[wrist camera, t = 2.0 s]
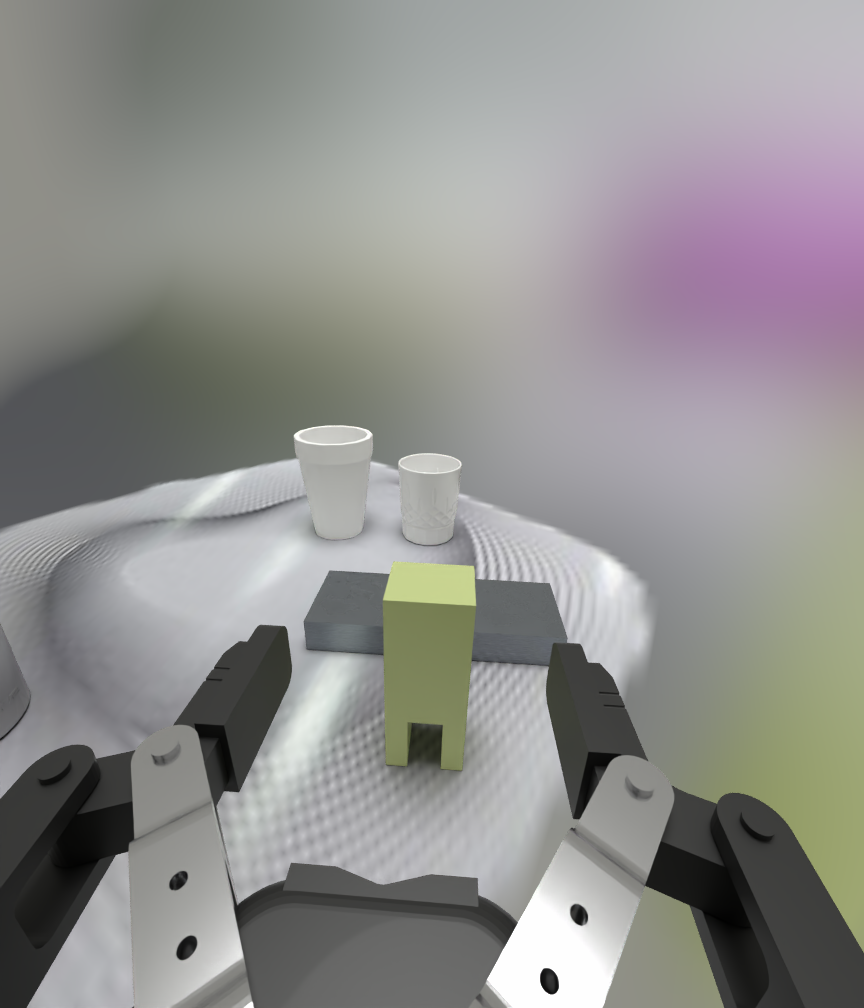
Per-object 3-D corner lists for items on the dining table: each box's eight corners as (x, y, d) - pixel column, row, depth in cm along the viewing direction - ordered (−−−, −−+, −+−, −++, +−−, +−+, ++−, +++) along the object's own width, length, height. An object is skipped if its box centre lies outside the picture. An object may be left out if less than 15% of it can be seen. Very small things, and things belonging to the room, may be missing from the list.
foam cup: (316, 512, 64) (309, 424, 59) (379, 515, 64) (377, 427, 59) (293, 543, 56) (282, 443, 50) (366, 548, 55) (362, 447, 50)
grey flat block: (306, 649, 38) (303, 621, 37) (331, 595, 46) (329, 570, 45) (562, 666, 37) (567, 638, 36) (545, 608, 45) (549, 583, 44)
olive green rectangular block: (385, 764, 29) (382, 600, 24) (394, 713, 33) (393, 561, 27) (462, 770, 29) (476, 605, 24) (462, 718, 32) (473, 566, 27)
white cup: (439, 554, 54) (442, 477, 50) (386, 537, 58) (385, 465, 54) (467, 530, 61) (472, 460, 57) (418, 516, 64) (419, 449, 60)
